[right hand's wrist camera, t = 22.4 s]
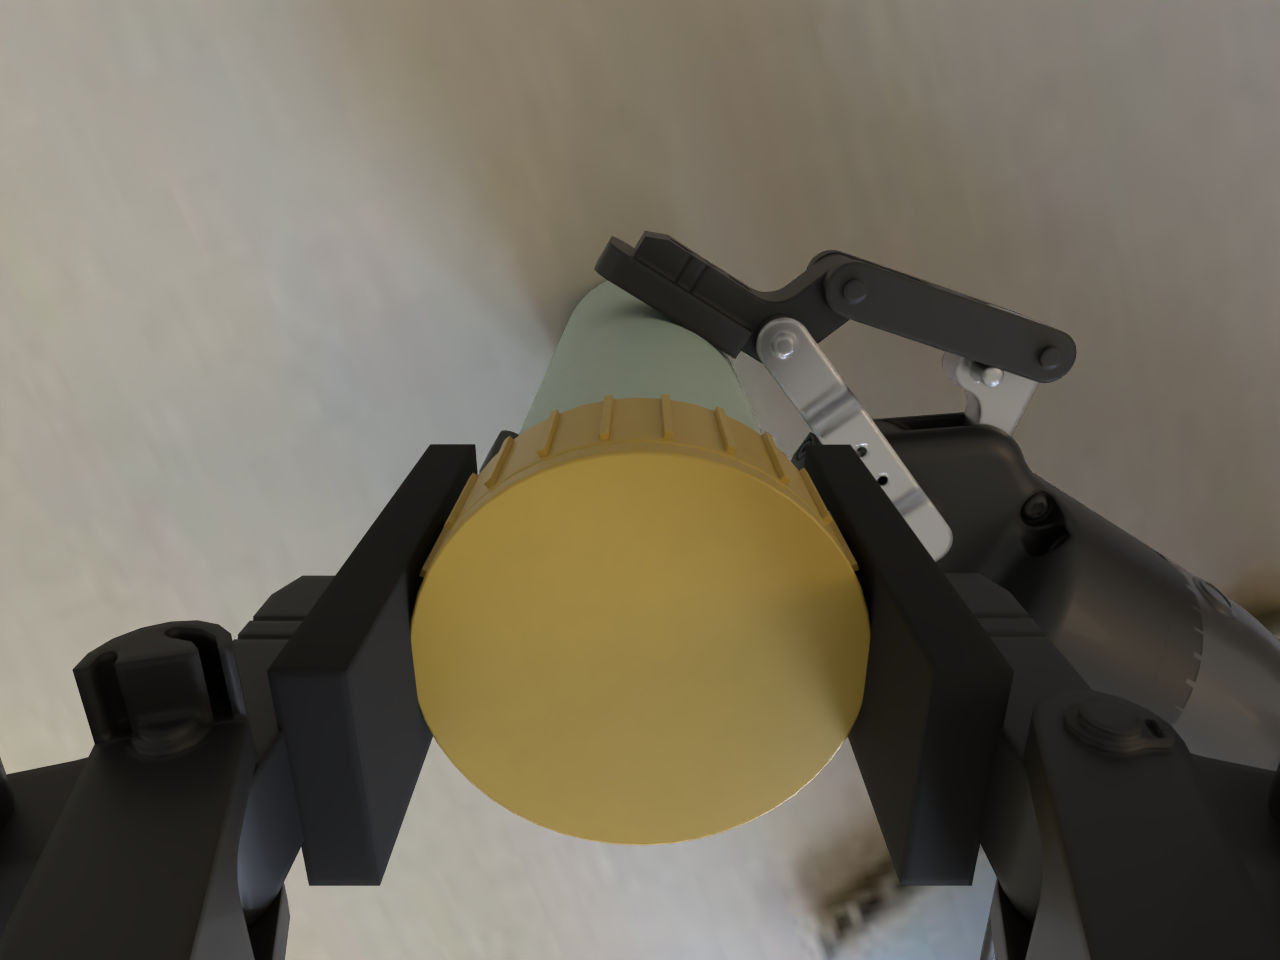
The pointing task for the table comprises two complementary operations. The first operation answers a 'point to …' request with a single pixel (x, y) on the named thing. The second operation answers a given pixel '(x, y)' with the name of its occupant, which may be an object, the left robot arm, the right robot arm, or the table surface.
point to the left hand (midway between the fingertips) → (548, 356)
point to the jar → (634, 361)
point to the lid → (640, 625)
